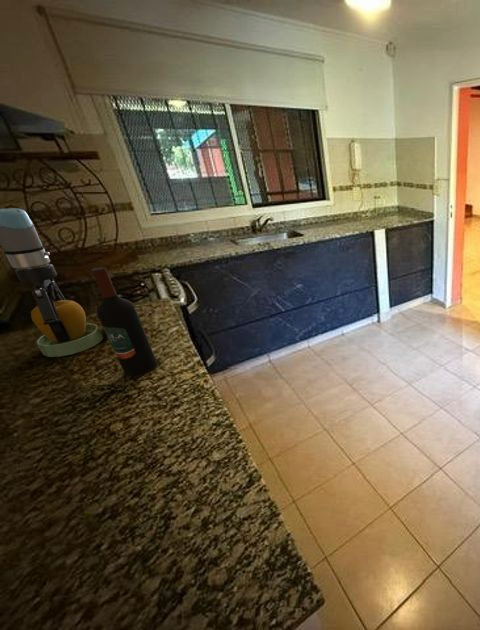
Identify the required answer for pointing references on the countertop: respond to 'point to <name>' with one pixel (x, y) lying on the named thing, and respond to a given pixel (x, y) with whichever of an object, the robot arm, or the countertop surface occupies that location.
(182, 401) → the countertop surface
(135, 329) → the wine bottle
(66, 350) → the bowl
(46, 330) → the apple
